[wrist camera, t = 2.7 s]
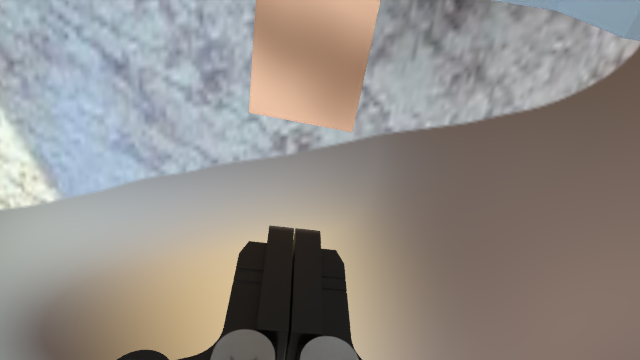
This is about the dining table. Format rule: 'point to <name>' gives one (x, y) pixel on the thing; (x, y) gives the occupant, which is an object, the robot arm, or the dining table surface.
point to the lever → (311, 59)
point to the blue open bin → (596, 13)
